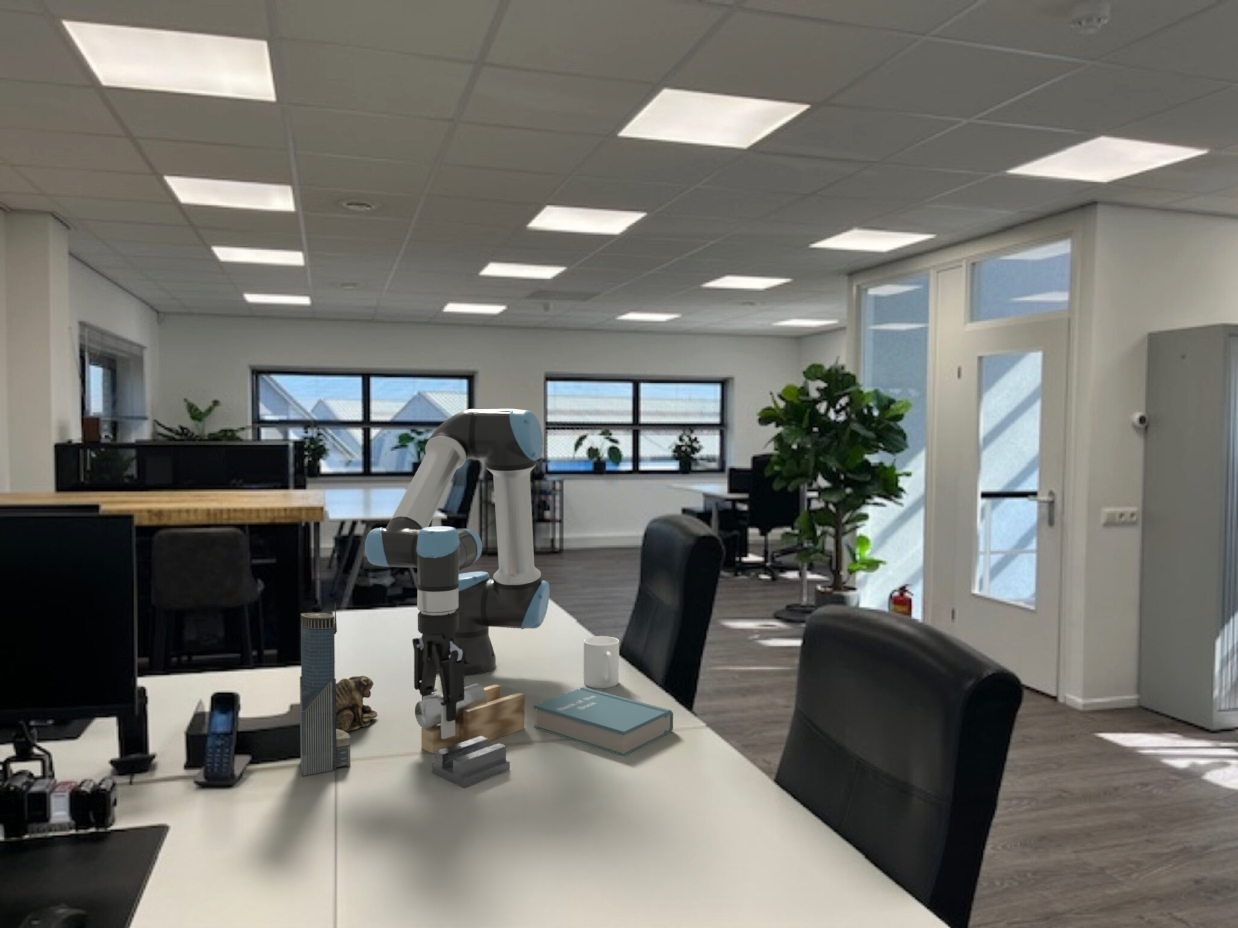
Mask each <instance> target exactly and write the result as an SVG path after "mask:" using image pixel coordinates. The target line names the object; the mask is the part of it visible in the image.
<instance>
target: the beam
mask: <svg viewBox="0 0 1238 928" xmlns="http://www.w3.org/2000/svg"><path fill="white" fill-rule="evenodd" d="M483 688H484V690H485V692H486V696H487V703H484V704H481V705H477V706H474V707H471V708H468V709H464V710H463V716H461V717H458V718H456V720H455V736H452V737H449V738H446V739H441V723H440V724H437V725H435V726H432V727H429V728H422V727H420V728H421V733H420V734H421V735H420V737H421V749H422V750H423V751H424V750H425V751H426V752H429V753H431V754H434V755H435V751H438V750H441V749H444V748H447V747H450V746H453V745H456V744H459V743H461V742H464V741H467V740H470V739H473V738H476V737H479V736H483V737H485V738H488V742H490V741H493V740H497V739H499V738H502V737H505V736H508V735H510V734H513V733H516V732H519V731H522V730H525V728H526V727H525V725H526V723H525V722H526V721H525V720H526V719H525V717H526V715H525V714H526V712H525V710H526V709H525V708H526V707H525V705H526V703H525V702H526V701H525V700H526V699H525V698H526V694H525V693H522V692H518V693H514V694H510V695H507V696H504V697H501V685H500V684H492V685H489V686H484V687H483Z"/></svg>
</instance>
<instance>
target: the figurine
mask: <svg viewBox="0 0 1238 928" xmlns="http://www.w3.org/2000/svg"><path fill="white" fill-rule="evenodd" d="M373 686H374V682H373V680H372V678H369V677H368V676H365V675H360V676H354V675H353V676H351V677H349V678H344V677H343V678H342V679H341V680H340V681H338V682H336V729H339V730H343V731H345V732H349V731H354V730H358V729H359V728H361V727H363V728H364V727H367V726H369V725H370V724H371V722H370V721H371V720H373V719H375V718H377V717H378V715H379V714H378V712H376V711H375V710H372V708H371V706H370V705H366V704H364V698H366V699H367V698H368V699H369V698H370V697H371V695H372V691H371V690H372V688H373Z"/></svg>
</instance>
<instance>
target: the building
mask: <svg viewBox="0 0 1238 928" xmlns="http://www.w3.org/2000/svg"><path fill="white" fill-rule="evenodd" d="M336 610H337V606H336V604H334V615H333V614H331V613H326V612H307V613H306V612H305V613H300V669H301V671H300V672H301V673H300V674H301V675H300V676H299V700H300V701H299V706H300V707H299V715H300V717H299V718H300V719H299V723H300V725H299V726H300V727H299V729H300V736H299V737H300V769H301V777H307V776H312V775H313V776H314V775H318V774H323V773H324V774H325V773H329V772H333V771H335V770H337V769H342V768H343V769H344V768H350V767H351V736H350V734H349V733H348V731H343V730H339V729H336V683H337V679H336V678H335V673H336V672H335V668H336V666H335V665H336V664H335V662H336V661H335V635H336V634H337V632H338V627H337V611H336Z"/></svg>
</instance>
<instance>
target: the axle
mask: <svg viewBox="0 0 1238 928" xmlns="http://www.w3.org/2000/svg"><path fill="white" fill-rule="evenodd" d="M484 688H485V687H483V686H482V684H480V683H473V684H470V685H466V686H464V700H463V701H460V702H457V703H456V718H458V717H461V716H463V710H464V709H468V708H471V707H474V706H477V705H481V704H484V703H487V696H486V692H485V690H484ZM449 697H450V696H449ZM441 702H444V700H443V693H442V694H439V695H438V694H437V696H435V697H432V698H429V699H426V700H422V699H421V700H420V701H417V703H416V704H415V708H414V716H415V719H416V721H417V723H418V725H419V726H420V728H429V727H432V726H435V725H437V724H440V723H441Z"/></svg>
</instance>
